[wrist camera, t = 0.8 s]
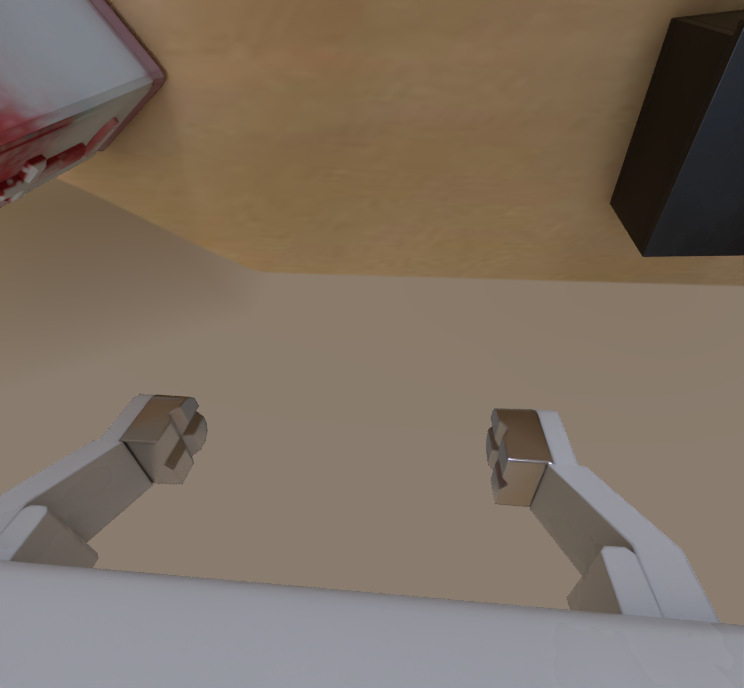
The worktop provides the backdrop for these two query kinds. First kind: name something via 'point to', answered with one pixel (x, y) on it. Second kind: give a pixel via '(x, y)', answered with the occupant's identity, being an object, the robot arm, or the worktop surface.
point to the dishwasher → (670, 115)
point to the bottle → (64, 87)
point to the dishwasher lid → (708, 174)
